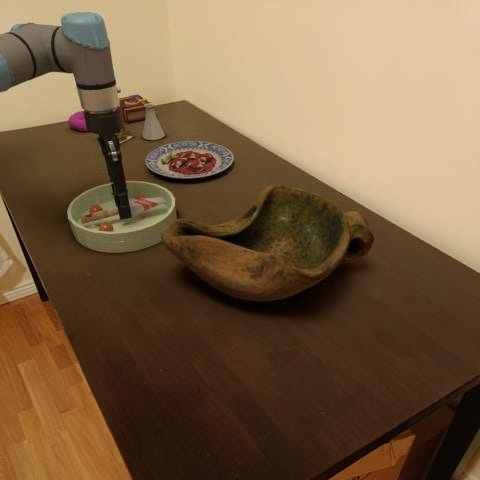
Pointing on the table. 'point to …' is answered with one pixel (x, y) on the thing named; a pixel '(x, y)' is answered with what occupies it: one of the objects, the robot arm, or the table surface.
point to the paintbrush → (135, 207)
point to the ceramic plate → (189, 159)
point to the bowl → (271, 244)
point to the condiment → (122, 134)
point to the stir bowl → (126, 230)
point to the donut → (78, 121)
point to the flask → (152, 124)
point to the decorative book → (133, 108)
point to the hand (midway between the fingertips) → (124, 213)
